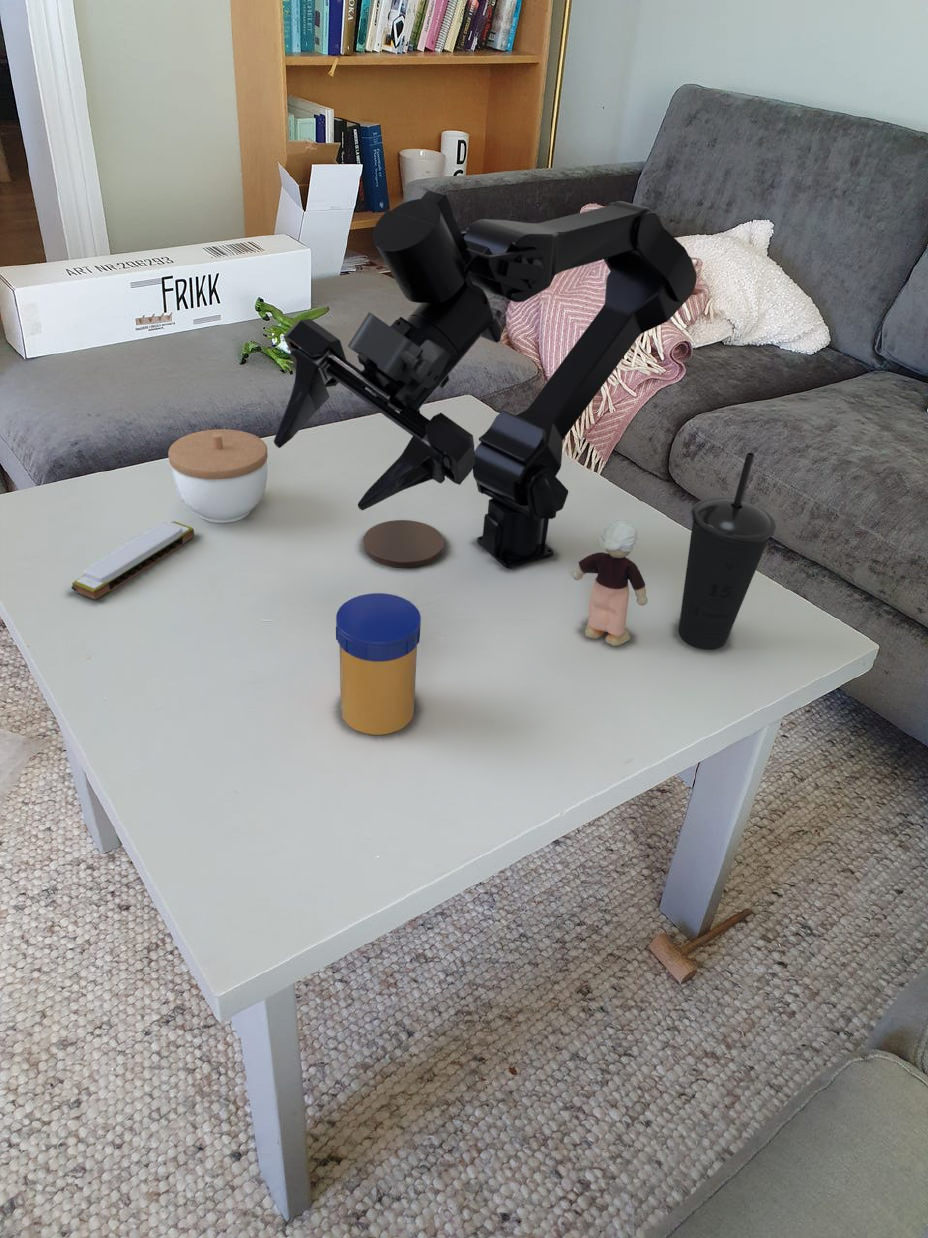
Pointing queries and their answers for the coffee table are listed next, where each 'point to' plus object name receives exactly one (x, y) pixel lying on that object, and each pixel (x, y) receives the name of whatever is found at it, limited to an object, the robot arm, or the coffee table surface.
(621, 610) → the grandmother figurine
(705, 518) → the drinking cup
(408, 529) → the coaster
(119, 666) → the coffee table surface
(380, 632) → the lid
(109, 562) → the harmonica
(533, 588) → the coffee table surface
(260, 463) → the trinket box
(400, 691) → the jar
